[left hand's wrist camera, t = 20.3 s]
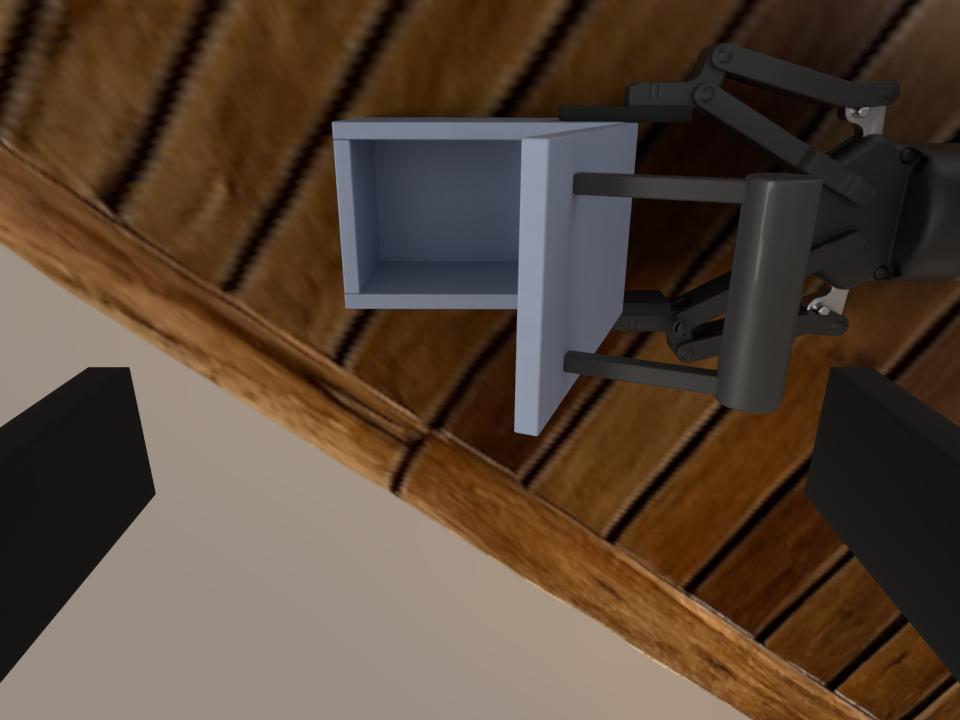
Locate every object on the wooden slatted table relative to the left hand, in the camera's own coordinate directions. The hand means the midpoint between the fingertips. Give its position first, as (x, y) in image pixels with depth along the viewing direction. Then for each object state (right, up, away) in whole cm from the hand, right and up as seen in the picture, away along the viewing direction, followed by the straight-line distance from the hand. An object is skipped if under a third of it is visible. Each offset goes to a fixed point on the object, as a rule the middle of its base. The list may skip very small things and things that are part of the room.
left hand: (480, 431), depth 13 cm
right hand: (+4, +10, +24) cm, 27 cm away
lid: (+4, +6, +15) cm, 17 cm away
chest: (0, +12, +30) cm, 32 cm away
